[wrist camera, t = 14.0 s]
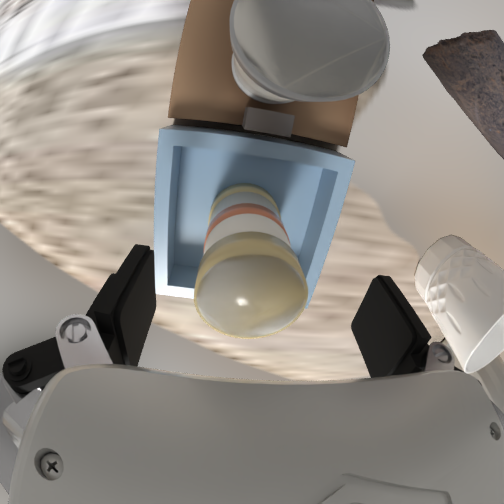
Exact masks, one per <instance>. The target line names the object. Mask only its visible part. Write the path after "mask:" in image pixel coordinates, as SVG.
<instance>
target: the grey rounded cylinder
mask: <svg viewBox="0 0 504 504" xmlns="http://www.w3.org/2000/svg"><path fill="white" fill-rule="evenodd" d="M230 41H231V47H232V51H233V55H232V73H233V77H234V80H235V82H236V84H237V85H238V87H239V88H240V89H241V91H242V92H243V93H245V94H246V95H247V96H249V97H250V98H252V99H254V100H256V101H259V102H262V103H266V104H283V103H289V102H293V101H299V102H329V101H339V100H345V99H348V98H352V97H354V96H356V95H359V94H361V93H363V92H364V91H366V90H367V89H369V88H370V87H371V86H372V85H373V84H375V83H376V81H377V80H378V79H379V78H380V76H381V75H382V73H383V71H384V70H385V67H386V65H387V62H388V57H389V51H390V42H389V35H388V29H387V27H386V24H385V21H384V19H383V17H382V15H381V13H380V11H379V10H378V8H377V7H376V5H375V4H374V3H373V1H372V0H234V2H233V5H232V8H231V12H230Z"/></svg>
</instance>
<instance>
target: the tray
mask: <svg viewBox="0 0 504 504" xmlns="http://www.w3.org/2000/svg"><path fill="white" fill-rule="evenodd" d="M354 164H355V161H354V160H352V159H351V158H349V157H347V156H345V155H343V154H341V153H339V152H337V151H334V150H330V149H326V148H322V147H318V146H313V145H309V144H305V143H300V142H295V141H290V140H285V139H280V138H275V137H270V136H264V135H258V134H252V133H245V132H238V131H231V130H223V129H215V128H205V127H195V126H183V125H170V126H167V127H164V128H161V129H159V139H158V150H157V163H156V179H155V202H154V261H155V290H156V294H162V295H169V296H177V297H185V298H193V299H194V289H195V283H196V278H197V273H198V268H199V264H200V261H201V259H202V257H203V254H204V243H205V238H206V233H207V229H208V219H209V214H210V210H211V206H212V203H213V201H214V199H215V198H216V196H217V195H218V194H219V193H220V192H221V191H222V190H224V189H225V188H227V187H229V186H231V185H234V184H238V183H251V184H255V185H258V186H260V187H262V188H264V189H265V190H266V191H268V192H269V193H270V194H271V196H272V197H273V199H274V200H275V202H276V205H277V207H278V210H279V212H280V216H281V221H282V223H283V225H284V227H285V230H286V232H287V235H288V237H289V241H290V246H291V249H292V250H293V251H294V252H295V254H296V256H297V258H298V260H299V263H300V266H301V268H302V271H303V273H304V276H305V279H306V282H307V286H308V299H307V303H306V306H305V308H308V305H309V302H310V300H311V297H312V295H313V292H314V289H315V287H316V284H317V281H318V278H319V276H320V273H321V270H322V267H323V264H324V261H325V259H326V256H327V253H328V250H329V247H330V244H331V241H332V238H333V235H334V232H335V229H336V225H337V222H338V219H339V216H340V213H341V209H342V206H343V203H344V199H345V196H346V193H347V189H348V186H349V182H350V179H351V175H352V171H353V167H354Z"/></svg>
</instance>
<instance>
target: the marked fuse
mask: <svg viewBox="0 0 504 504" xmlns="http://www.w3.org/2000/svg"><path fill="white" fill-rule="evenodd" d="M307 299H308V286H307V282H306V279H305V276H304V273H303V271H302V268H301V266H300V263H299V260H298V258H297V256H296V254H295V252H294V251H293V250H292V249H291V246H290V241H289V237H288V235H287V232H286V230H285V227H284V225H283V223H282V221H281V216H280V212H279V210H278V207H277V205H276V202H275V200H274V199H273V197H272V196H271V194H270V193H269V192H268V191H266V190H265V189H264V188H262V187H260V186H258V185H255V184H251V183H238V184H234V185H231V186H229V187H227V188H225V189H224V190H222V191H221V192H220V193H219V194H218V195H217V196H216V198H215V199H214V201H213V203H212V206H211V210H210V214H209V219H208V229H207V233H206V238H205V243H204V254H203V257H202V259H201V261H200V264H199V268H198V273H197V278H196V283H195V289H194V303H195V307H196V310H197V312H198V314H199V315H200V317H201V318H202V319H203V321H204V322H205V323H206V324H207V325H209V326H210V327H211V328H213V329H214V330H216V331H218V332H220V333H222V334H224V335H227V336H231V337H235V338H242V339H254V338H262V337H266V336H270V335H273V334H276V333H278V332H280V331H282V330H284V329H285V328H287V327H288V326H290V325H291V324H292V323H293V322H295V321H296V320H297V318H298V317H299V316H300V315H301V313H302V312H303V310H304V308H305V306H306V303H307Z"/></svg>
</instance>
